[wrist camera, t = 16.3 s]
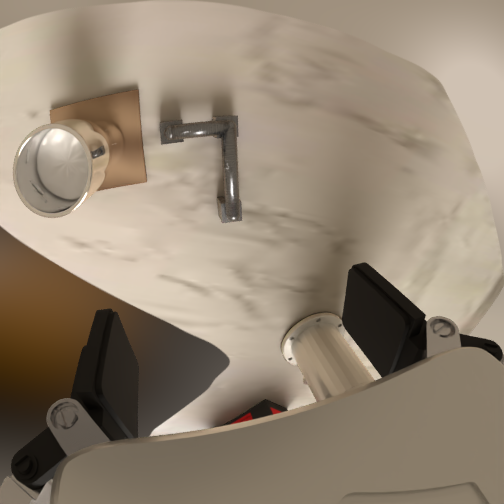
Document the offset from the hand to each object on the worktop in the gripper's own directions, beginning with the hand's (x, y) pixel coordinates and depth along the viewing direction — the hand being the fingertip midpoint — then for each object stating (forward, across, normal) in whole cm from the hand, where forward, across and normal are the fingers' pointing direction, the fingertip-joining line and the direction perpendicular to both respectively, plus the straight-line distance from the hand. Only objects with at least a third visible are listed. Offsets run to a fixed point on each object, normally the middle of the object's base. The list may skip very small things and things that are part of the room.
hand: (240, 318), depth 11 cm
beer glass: (+25, +11, -6) cm, 28 cm away
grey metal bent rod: (+26, -1, -1) cm, 26 cm away
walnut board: (+26, +11, -7) cm, 29 cm away
